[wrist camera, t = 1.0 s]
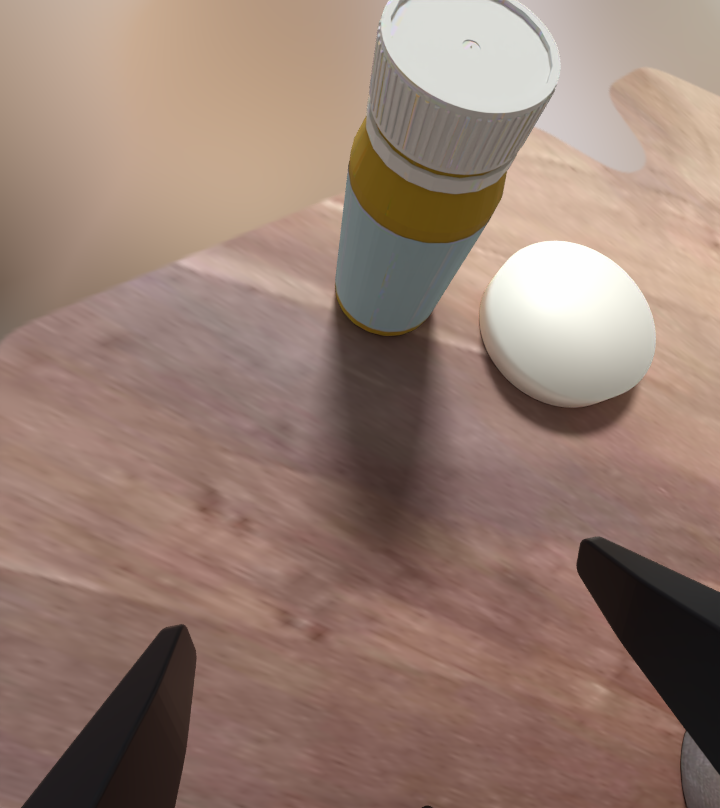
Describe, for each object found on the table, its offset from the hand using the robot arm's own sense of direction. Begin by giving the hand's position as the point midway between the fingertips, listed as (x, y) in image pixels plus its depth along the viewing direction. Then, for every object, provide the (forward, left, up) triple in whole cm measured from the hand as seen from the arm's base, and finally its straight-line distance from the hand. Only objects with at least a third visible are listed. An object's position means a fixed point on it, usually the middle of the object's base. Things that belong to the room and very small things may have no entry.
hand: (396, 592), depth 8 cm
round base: (-2, -21, -14) cm, 25 cm away
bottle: (+9, -14, -14) cm, 22 cm away
